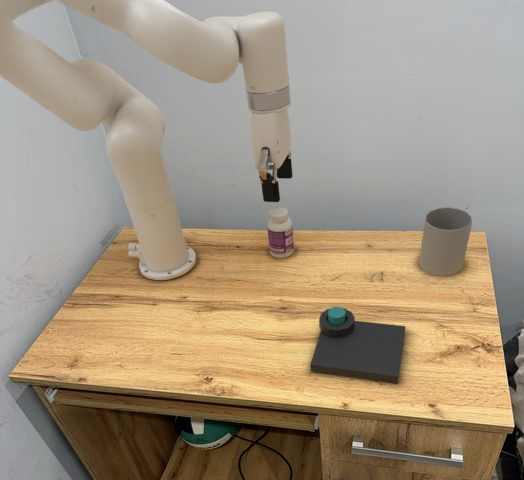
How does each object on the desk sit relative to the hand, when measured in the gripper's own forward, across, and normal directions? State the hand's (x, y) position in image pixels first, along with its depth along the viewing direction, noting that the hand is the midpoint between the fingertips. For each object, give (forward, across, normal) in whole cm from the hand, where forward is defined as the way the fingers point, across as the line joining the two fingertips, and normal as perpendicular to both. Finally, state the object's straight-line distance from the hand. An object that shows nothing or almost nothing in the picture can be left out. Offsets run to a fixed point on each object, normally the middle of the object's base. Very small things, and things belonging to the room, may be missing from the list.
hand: (278, 189), depth 99 cm
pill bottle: (+15, 0, -1) cm, 15 cm away
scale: (+15, +28, +20) cm, 38 cm away
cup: (+15, 0, +32) cm, 36 cm away
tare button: (+12, +24, +16) cm, 31 cm away
